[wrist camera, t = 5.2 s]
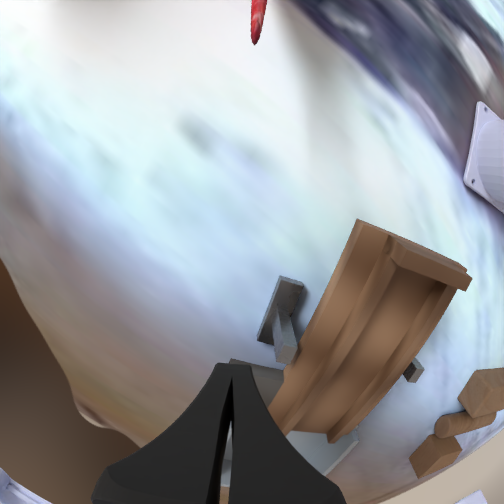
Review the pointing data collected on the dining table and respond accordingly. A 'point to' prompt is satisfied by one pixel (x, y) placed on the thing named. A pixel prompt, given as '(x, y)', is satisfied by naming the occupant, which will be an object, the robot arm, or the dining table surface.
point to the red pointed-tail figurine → (257, 19)
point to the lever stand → (281, 331)
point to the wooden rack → (360, 333)
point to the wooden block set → (461, 421)
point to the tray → (304, 451)
